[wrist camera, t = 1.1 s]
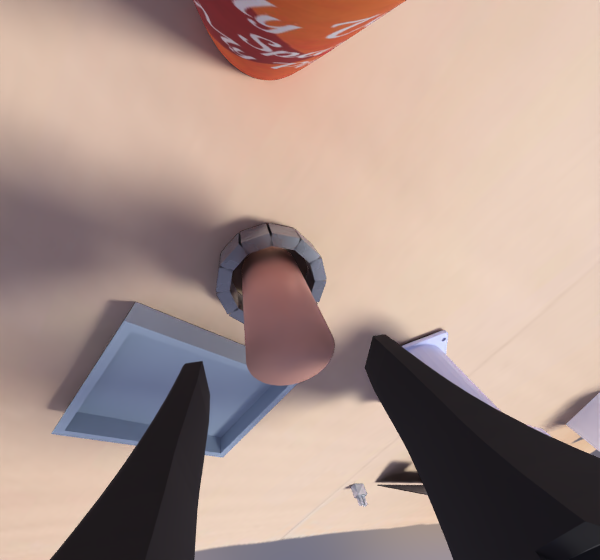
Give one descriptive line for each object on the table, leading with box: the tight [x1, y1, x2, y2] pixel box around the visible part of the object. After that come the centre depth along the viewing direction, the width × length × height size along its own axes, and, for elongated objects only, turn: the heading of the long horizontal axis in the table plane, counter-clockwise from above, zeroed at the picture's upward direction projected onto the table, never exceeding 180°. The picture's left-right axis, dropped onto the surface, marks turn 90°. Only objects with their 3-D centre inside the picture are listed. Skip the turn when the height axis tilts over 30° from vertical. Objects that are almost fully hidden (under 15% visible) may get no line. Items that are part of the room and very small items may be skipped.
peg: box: [241, 246, 335, 386], centre depth 14 cm, size 4×4×8 cm
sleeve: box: [216, 223, 326, 324], centre depth 17 cm, size 7×7×2 cm
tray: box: [52, 302, 298, 457], centre depth 20 cm, size 14×12×2 cm
